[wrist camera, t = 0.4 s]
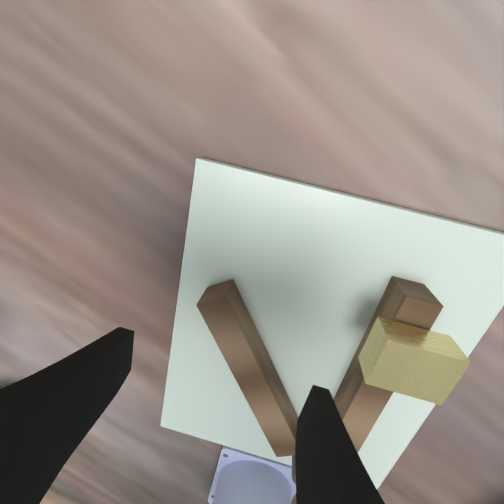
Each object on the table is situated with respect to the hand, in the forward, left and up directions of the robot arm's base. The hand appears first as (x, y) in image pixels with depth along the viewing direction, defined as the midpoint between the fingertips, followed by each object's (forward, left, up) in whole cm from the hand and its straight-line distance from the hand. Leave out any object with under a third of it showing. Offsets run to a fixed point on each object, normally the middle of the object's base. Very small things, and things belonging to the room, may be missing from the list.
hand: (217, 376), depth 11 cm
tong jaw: (-7, -2, -8) cm, 11 cm away
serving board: (-5, -5, -10) cm, 12 cm away
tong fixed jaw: (-6, -8, -9) cm, 14 cm away
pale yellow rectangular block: (0, -9, -6) cm, 11 cm away
